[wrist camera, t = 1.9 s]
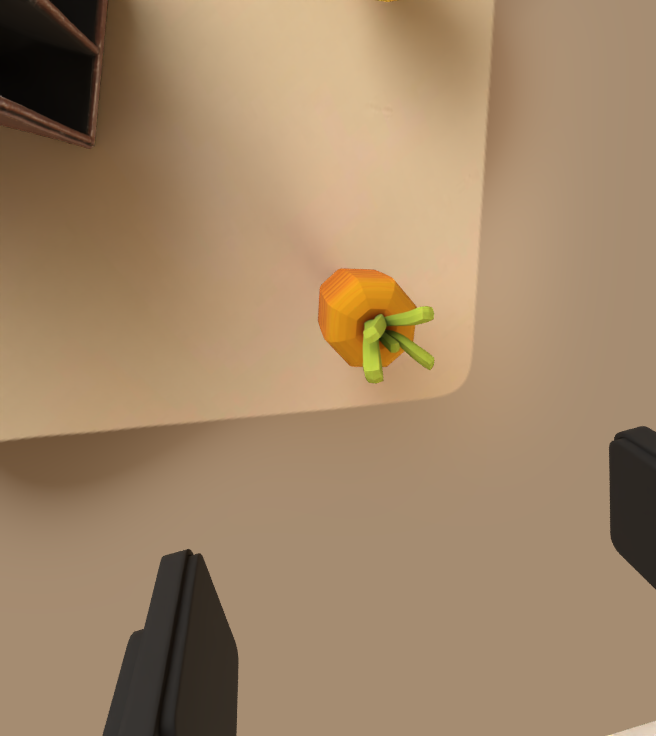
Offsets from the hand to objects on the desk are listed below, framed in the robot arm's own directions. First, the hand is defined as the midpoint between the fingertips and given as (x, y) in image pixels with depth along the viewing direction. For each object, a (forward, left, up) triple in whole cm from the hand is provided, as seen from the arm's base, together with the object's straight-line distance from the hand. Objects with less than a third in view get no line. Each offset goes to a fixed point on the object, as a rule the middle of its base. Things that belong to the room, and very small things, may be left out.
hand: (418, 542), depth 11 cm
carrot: (-3, 0, -26) cm, 26 cm away
